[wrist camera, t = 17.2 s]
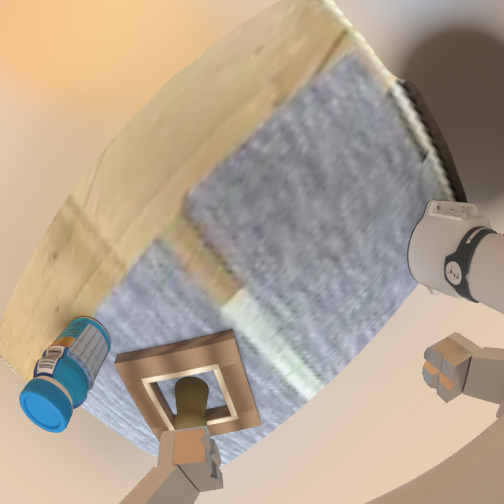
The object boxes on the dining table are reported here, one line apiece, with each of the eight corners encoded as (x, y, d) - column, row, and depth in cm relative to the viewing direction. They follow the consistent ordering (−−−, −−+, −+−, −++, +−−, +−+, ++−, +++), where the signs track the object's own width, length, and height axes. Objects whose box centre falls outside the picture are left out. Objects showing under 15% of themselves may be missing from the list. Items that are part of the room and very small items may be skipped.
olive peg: (199, 406, 48) (200, 449, 37) (169, 394, 46) (163, 437, 36) (214, 384, 47) (217, 428, 36) (183, 371, 46) (179, 415, 35)
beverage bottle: (119, 332, 42) (78, 414, 23) (102, 366, 43) (66, 448, 24) (76, 305, 40) (15, 372, 21) (62, 341, 41) (10, 412, 22)
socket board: (232, 329, 45) (234, 339, 42) (258, 414, 50) (261, 426, 47) (118, 354, 43) (113, 364, 40) (161, 432, 48) (160, 444, 45)
